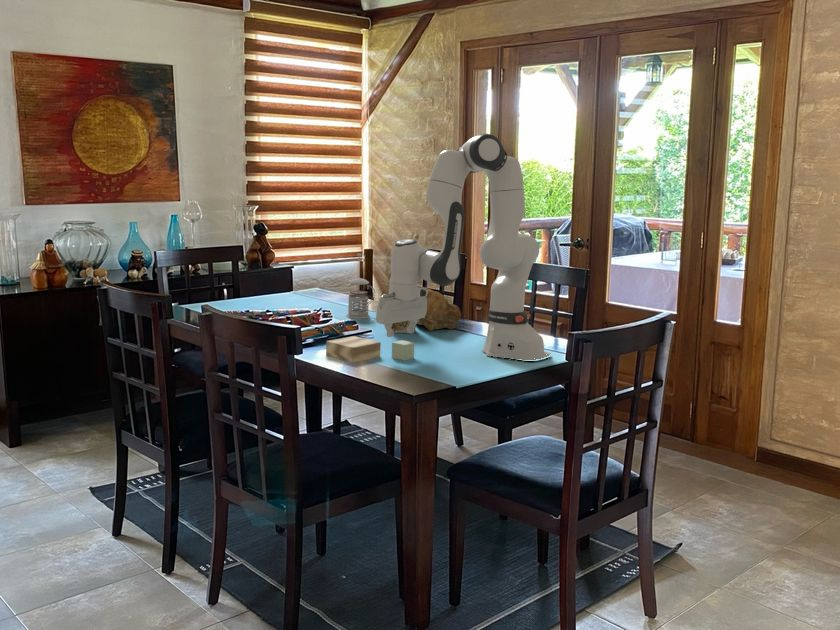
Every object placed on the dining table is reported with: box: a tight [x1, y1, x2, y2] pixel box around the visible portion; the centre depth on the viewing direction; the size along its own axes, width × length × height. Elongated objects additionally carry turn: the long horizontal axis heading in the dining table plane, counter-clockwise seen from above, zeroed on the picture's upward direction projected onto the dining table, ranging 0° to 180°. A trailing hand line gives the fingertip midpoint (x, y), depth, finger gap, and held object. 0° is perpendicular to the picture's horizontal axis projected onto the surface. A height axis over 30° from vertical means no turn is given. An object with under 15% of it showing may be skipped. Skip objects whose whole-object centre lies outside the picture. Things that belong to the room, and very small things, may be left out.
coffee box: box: [391, 321, 416, 334], centre depth 298 cm, size 9×6×16 cm
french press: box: [345, 253, 376, 320], centre depth 323 cm, size 10×12×25 cm
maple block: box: [325, 335, 381, 363], centre depth 259 cm, size 12×12×5 cm
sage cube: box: [391, 339, 416, 361], centre depth 259 cm, size 5×5×5 cm
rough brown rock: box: [416, 286, 462, 331], centre depth 308 cm, size 23×17×15 cm
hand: (400, 334), depth 259 cm, fingers open, 8 cm apart
